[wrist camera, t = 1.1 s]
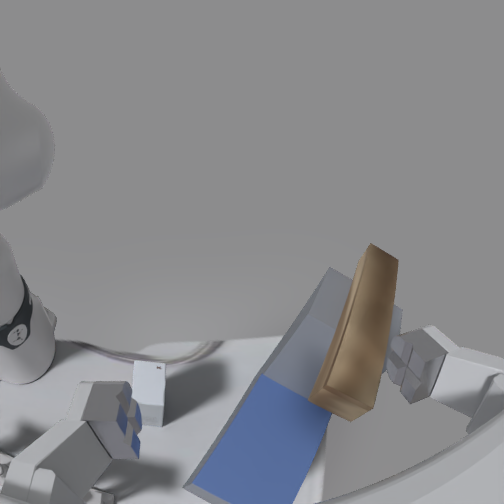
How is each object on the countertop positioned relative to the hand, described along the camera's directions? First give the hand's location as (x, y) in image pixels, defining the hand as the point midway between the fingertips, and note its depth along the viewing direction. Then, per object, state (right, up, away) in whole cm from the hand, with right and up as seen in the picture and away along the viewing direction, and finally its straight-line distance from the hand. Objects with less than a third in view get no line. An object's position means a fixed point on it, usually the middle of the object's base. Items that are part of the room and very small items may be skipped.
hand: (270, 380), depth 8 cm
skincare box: (-16, -21, +32) cm, 42 cm away
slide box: (+10, -3, +19) cm, 22 cm away
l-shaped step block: (-1, -26, +33) cm, 42 cm away
